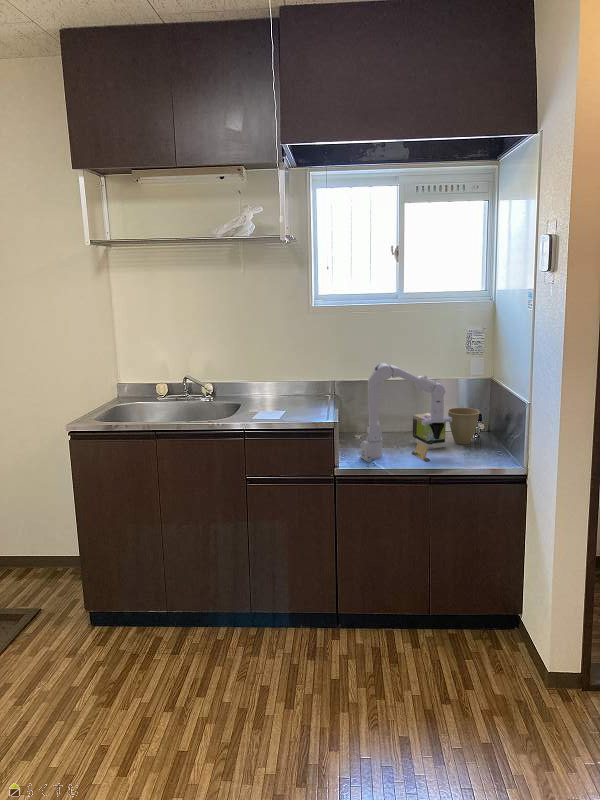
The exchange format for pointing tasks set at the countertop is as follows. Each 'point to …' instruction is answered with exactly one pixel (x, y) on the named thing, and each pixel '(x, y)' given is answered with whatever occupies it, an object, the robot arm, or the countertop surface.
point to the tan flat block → (421, 450)
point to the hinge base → (424, 458)
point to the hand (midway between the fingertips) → (436, 438)
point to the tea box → (426, 432)
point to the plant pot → (463, 424)
